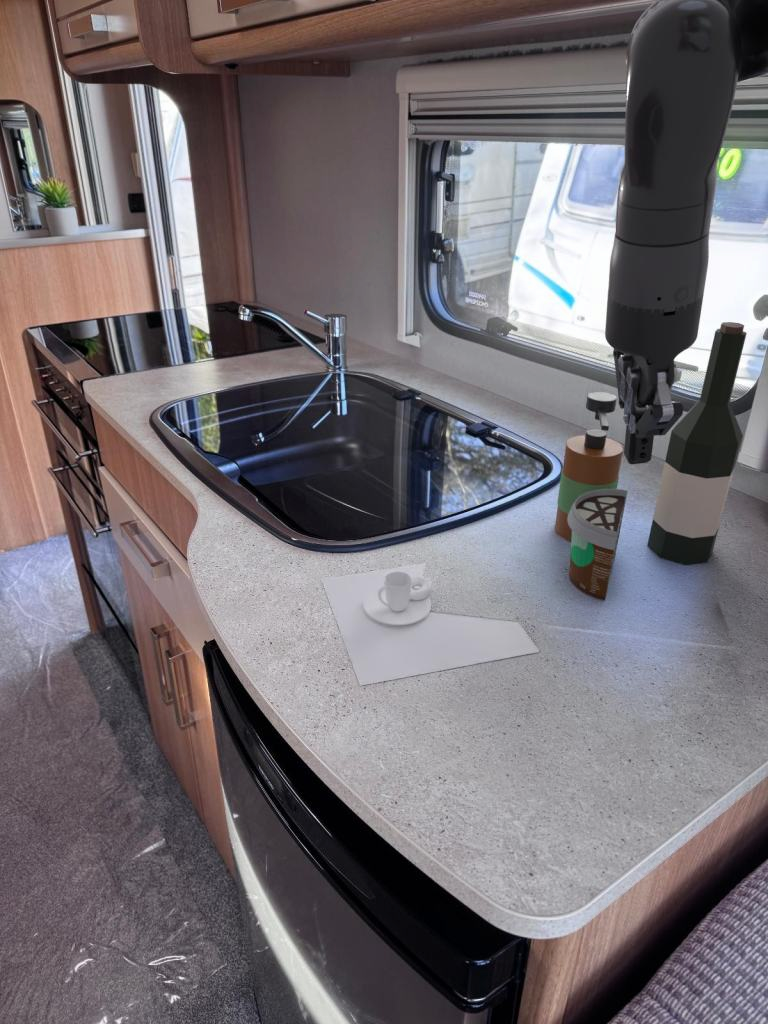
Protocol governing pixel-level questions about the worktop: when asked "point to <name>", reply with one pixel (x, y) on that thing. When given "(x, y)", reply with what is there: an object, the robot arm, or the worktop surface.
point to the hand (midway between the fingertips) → (637, 459)
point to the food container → (595, 539)
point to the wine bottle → (700, 461)
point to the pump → (601, 406)
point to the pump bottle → (586, 472)
